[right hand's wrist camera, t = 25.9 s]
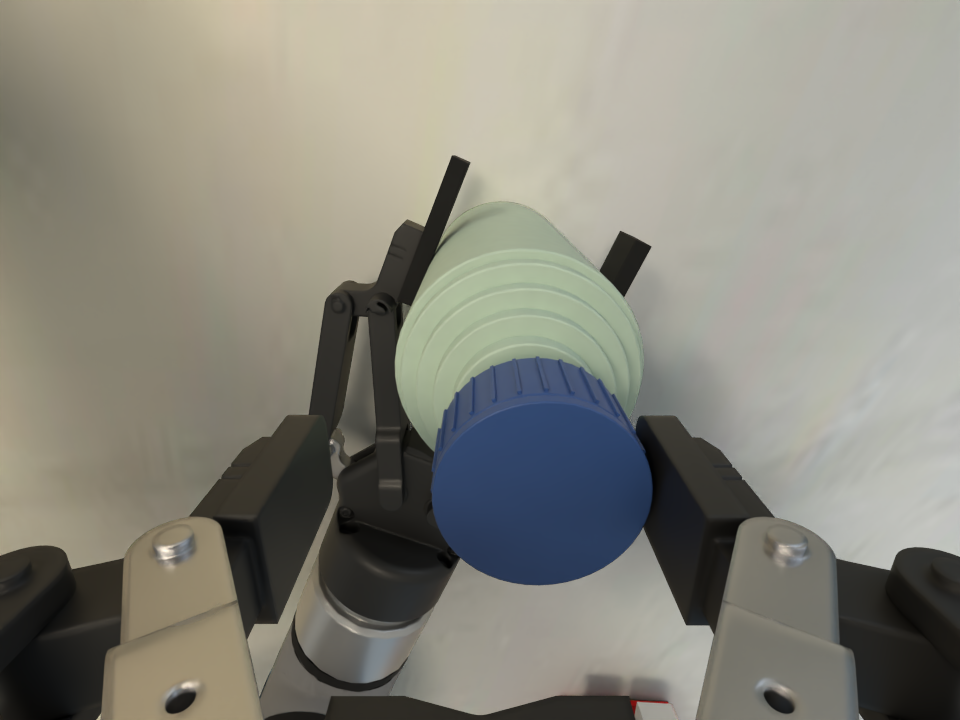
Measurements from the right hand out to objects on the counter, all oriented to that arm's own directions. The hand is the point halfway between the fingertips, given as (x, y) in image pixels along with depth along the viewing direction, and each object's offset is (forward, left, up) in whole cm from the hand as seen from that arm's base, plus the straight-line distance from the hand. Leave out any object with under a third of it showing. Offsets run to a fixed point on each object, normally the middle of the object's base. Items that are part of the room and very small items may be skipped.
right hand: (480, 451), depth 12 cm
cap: (+1, +1, +1) cm, 2 cm away
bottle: (+1, +1, -20) cm, 20 cm away
